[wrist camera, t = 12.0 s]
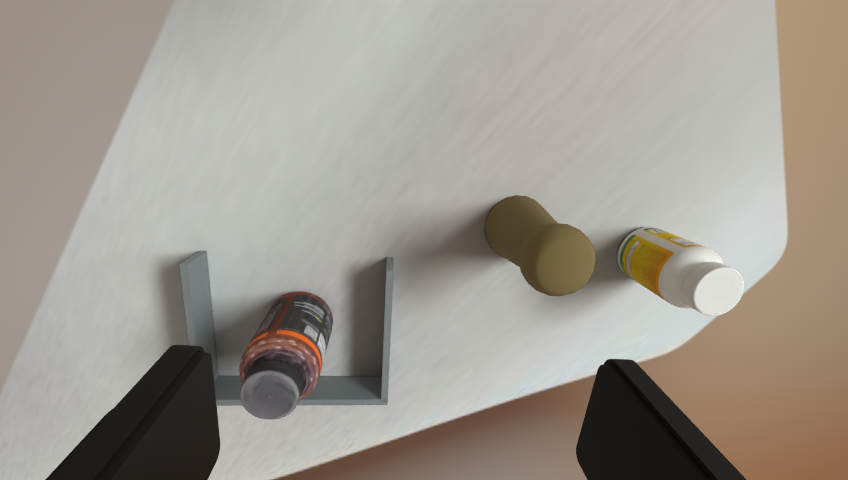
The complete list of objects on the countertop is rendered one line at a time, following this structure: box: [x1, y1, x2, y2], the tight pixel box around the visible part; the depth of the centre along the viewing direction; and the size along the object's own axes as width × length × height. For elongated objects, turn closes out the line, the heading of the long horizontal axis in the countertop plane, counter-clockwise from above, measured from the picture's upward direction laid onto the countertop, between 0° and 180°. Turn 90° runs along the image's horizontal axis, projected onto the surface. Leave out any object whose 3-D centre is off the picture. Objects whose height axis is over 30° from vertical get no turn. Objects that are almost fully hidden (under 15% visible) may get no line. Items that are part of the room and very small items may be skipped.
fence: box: [179, 251, 393, 405], centre depth 36 cm, size 14×17×4 cm
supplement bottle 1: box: [239, 292, 333, 419], centre depth 32 cm, size 6×6×11 cm
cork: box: [485, 196, 596, 296], centre depth 31 cm, size 6×6×11 cm
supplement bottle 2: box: [618, 227, 744, 316], centre depth 34 cm, size 5×5×10 cm
